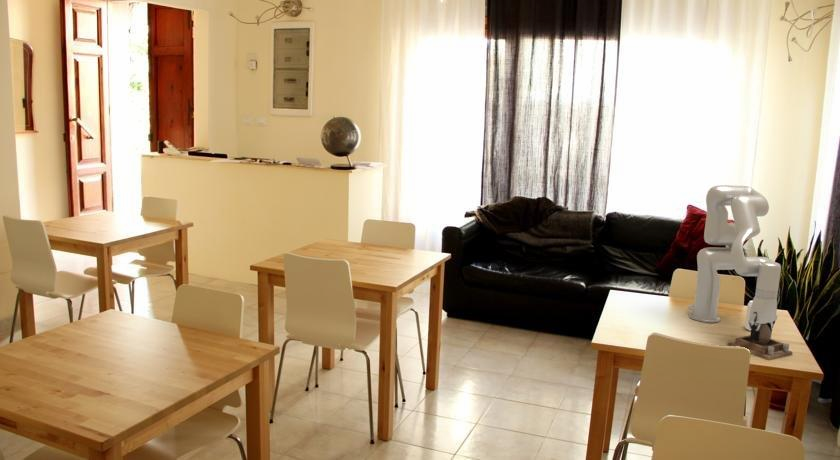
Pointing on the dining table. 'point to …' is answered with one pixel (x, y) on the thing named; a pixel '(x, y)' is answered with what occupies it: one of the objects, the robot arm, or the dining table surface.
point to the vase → (763, 334)
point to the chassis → (763, 348)
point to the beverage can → (748, 315)
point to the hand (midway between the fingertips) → (760, 338)
